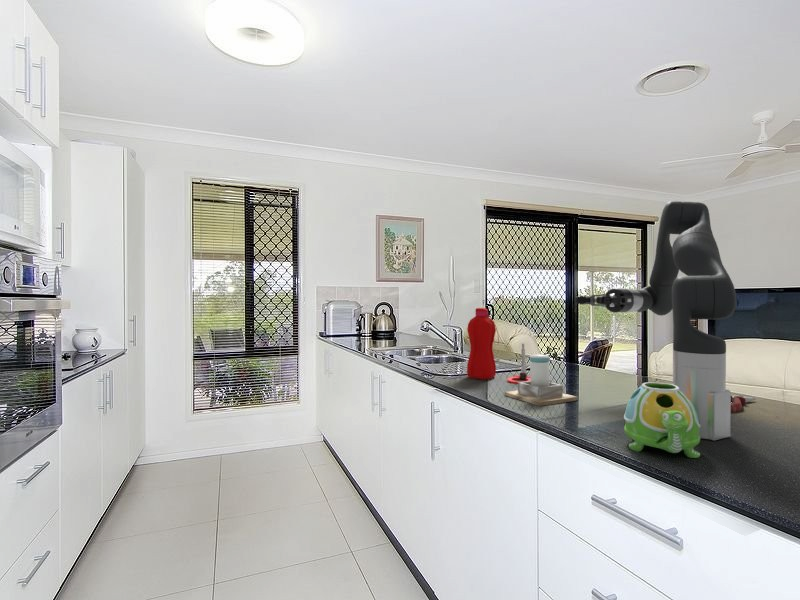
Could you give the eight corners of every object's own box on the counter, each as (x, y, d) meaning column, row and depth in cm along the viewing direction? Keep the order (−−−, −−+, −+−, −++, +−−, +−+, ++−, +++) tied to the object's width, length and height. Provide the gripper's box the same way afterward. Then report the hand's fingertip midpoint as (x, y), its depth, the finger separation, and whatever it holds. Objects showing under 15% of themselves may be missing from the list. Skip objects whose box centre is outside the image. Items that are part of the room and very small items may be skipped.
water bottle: (493, 381, 147) (493, 308, 147) (464, 378, 153) (464, 307, 153) (502, 377, 154) (503, 308, 154) (474, 374, 160) (474, 307, 160)
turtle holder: (634, 465, 73) (635, 395, 73) (619, 433, 90) (619, 377, 90) (721, 475, 69) (721, 401, 69) (687, 440, 86) (688, 381, 86)
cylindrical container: (554, 394, 122) (553, 355, 122) (539, 396, 119) (539, 357, 119) (540, 391, 126) (539, 353, 126) (526, 393, 124) (525, 355, 124)
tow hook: (528, 386, 141) (536, 380, 149) (528, 347, 140) (535, 343, 148) (503, 384, 145) (512, 378, 153) (503, 346, 145) (512, 342, 153)
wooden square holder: (577, 400, 120) (577, 386, 120) (539, 405, 113) (540, 390, 113) (539, 390, 132) (539, 377, 132) (504, 395, 126) (504, 381, 126)
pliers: (774, 406, 116) (774, 396, 116) (731, 415, 107) (731, 404, 107) (726, 397, 126) (726, 389, 126) (684, 405, 118) (684, 395, 118)
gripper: (603, 288, 141) (568, 288, 134) (645, 288, 128) (609, 287, 121) (603, 311, 141) (568, 312, 134) (645, 313, 128) (609, 313, 121)
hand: (588, 300), depth 127 cm, fingers open, 8 cm apart
